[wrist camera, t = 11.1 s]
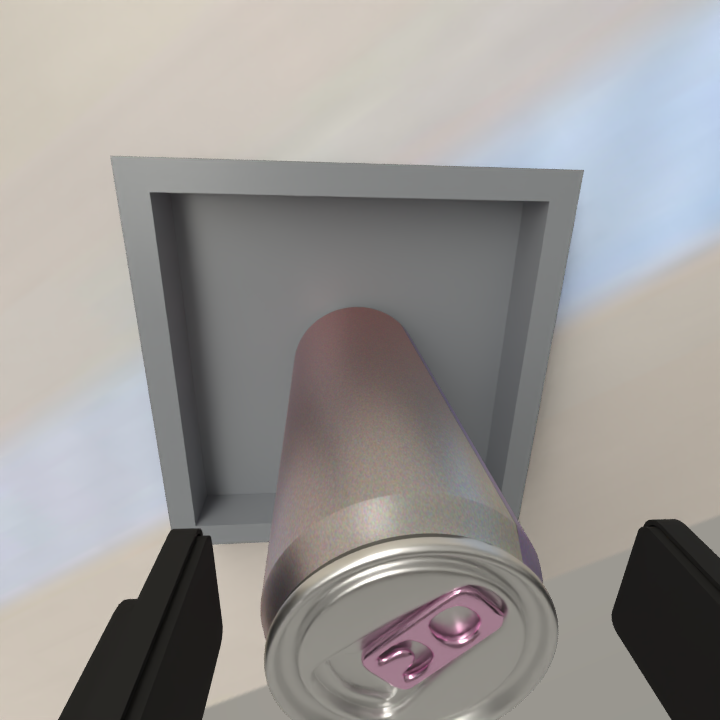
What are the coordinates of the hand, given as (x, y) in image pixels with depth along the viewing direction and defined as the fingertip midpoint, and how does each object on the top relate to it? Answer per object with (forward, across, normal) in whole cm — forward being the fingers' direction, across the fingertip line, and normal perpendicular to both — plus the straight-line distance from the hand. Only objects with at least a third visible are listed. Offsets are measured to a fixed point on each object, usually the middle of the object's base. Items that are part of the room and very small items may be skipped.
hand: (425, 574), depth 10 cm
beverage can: (+14, +1, 0) cm, 14 cm away
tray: (+14, +1, 0) cm, 14 cm away
